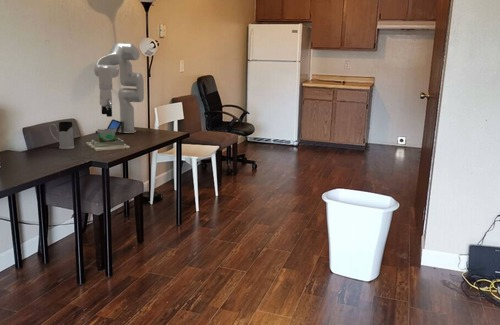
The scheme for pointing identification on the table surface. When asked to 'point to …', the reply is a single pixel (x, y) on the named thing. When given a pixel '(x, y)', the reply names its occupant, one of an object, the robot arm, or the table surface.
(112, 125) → the game console
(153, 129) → the table surface
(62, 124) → the grey pitcher
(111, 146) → the stand
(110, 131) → the food container
